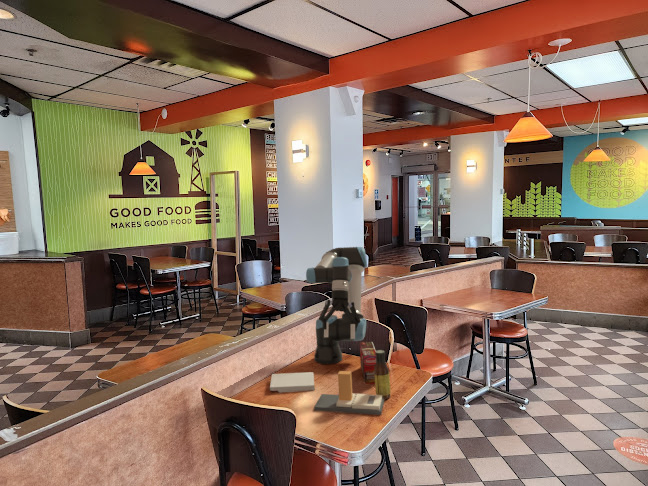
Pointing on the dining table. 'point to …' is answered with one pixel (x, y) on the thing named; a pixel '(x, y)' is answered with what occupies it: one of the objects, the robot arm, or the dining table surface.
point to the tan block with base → (345, 389)
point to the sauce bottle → (381, 375)
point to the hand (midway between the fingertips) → (339, 338)
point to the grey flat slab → (292, 382)
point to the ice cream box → (368, 361)
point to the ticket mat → (332, 407)
